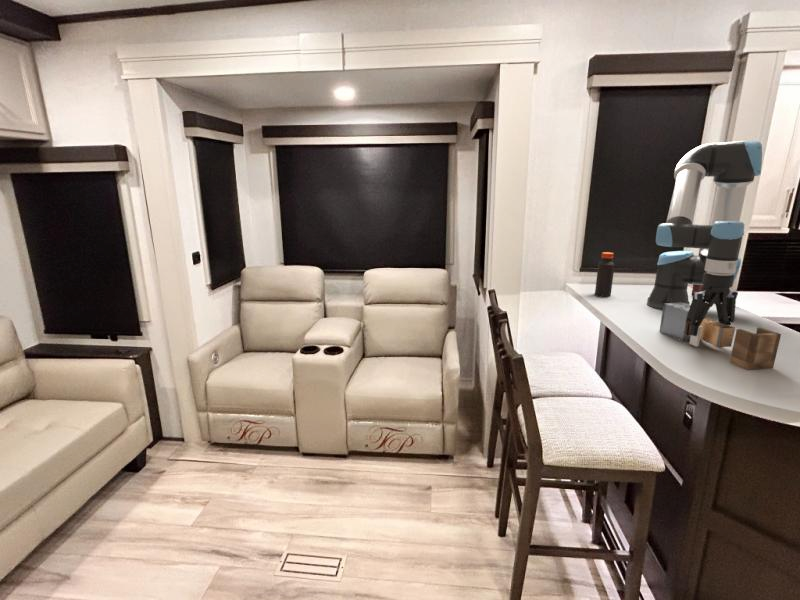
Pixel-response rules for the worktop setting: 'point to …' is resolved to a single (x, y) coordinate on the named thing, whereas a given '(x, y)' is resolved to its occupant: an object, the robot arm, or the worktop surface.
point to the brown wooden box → (755, 349)
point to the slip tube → (715, 333)
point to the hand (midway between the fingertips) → (705, 344)
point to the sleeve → (675, 320)
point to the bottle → (605, 275)
